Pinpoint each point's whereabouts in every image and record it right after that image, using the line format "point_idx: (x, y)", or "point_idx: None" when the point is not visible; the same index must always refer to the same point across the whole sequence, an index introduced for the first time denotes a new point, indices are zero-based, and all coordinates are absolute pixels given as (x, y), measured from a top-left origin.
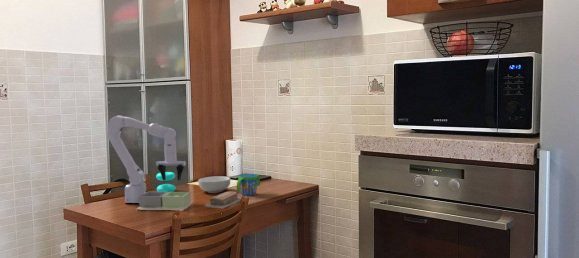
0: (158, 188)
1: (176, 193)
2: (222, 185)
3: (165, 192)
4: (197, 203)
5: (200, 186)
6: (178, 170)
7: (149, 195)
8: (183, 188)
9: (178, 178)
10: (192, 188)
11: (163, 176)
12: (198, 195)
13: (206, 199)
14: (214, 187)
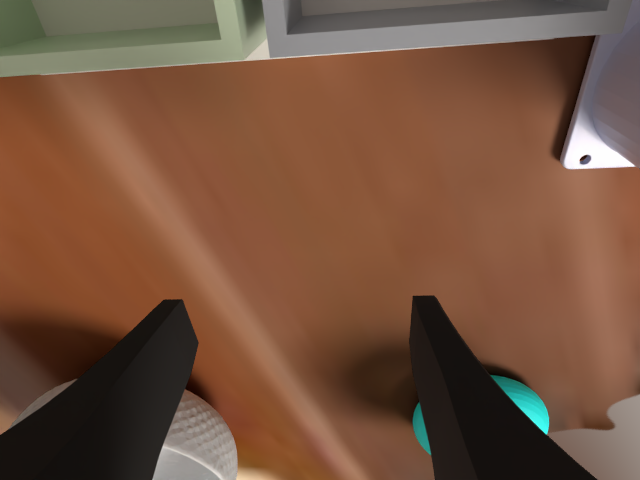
0: (533, 407)
1: (140, 42)
2: (22, 412)
3: (307, 33)
4: (13, 85)
5: (194, 410)
6: (26, 448)
7: (567, 4)
8: (384, 452)
9: (151, 317)
10: (329, 451)
11: (428, 340)
12: (195, 327)
13: (52, 229)
14: (66, 387)
